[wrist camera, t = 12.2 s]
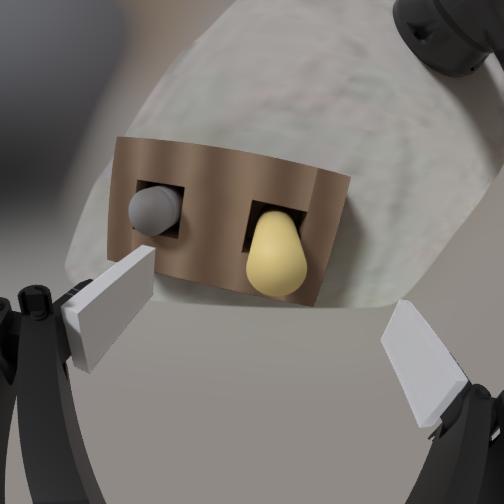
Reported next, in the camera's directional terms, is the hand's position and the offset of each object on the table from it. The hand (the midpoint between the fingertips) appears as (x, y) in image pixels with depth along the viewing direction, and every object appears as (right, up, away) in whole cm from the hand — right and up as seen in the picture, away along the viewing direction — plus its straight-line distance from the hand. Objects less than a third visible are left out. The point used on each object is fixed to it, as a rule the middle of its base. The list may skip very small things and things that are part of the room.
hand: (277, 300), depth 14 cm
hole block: (-4, +8, +20) cm, 22 cm away
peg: (+2, +6, +19) cm, 20 cm away
